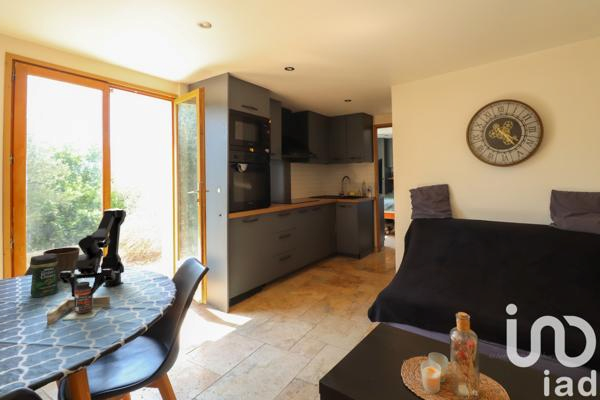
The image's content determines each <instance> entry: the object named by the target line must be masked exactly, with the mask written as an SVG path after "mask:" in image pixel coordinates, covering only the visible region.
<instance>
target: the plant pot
mask: <svg viewBox="0 0 600 400" xmlns="http://www.w3.org/2000/svg"><path fill="white" fill-rule="evenodd" d="M80 251H81V248H80V247H75V246H72V247H71V246H69V247H58V248H53V249H52V248H51V249H47V250H45V251H43V254H42V255H46V254H55V255H56V256H57V261H58V263H57V265H56V275H57V282H58V283H62V281H61V280H60V279H59V278H58V276H59V274H60V273H61V272H62V271H72V272H73V273H75V271H76V262H77V260H79V257H80Z"/></svg>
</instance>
